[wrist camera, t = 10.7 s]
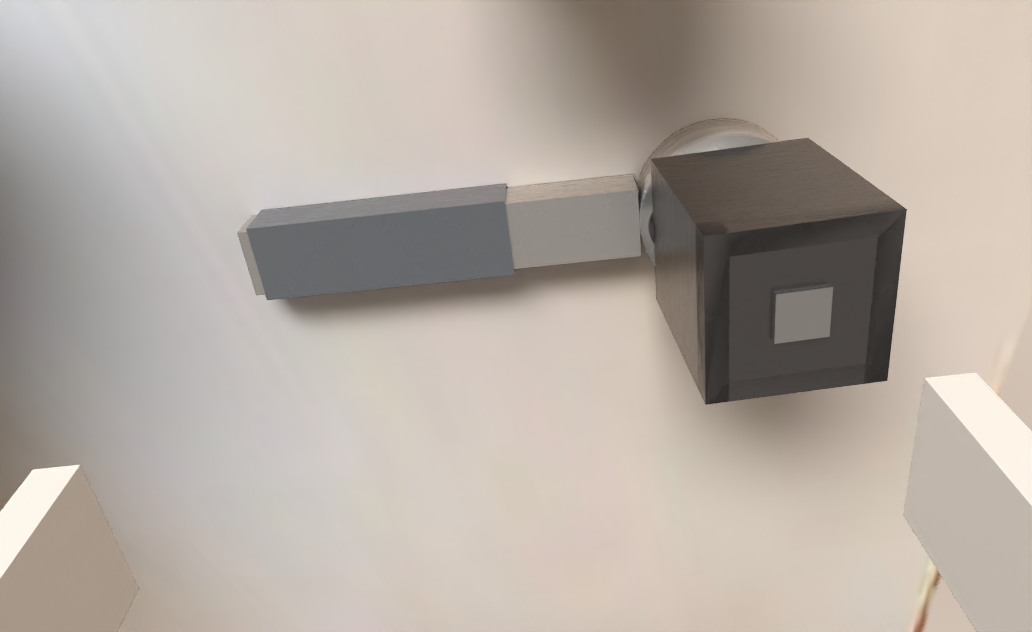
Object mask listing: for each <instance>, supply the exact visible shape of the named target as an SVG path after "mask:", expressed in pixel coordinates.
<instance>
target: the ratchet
mask: <svg viewBox="0 0 1032 632" xmlns="http://www.w3.org/2000/svg"><path fill="white" fill-rule="evenodd" d="M773 142H778V141H777V140H776V139H775V138H774V137H773V136H772V135H771V134H769V133H768V132H767V131H765V130H764V129H762V128H760V127H758V126H756V125H754V124H751V123H748V122H745V121H740V120H736V119H712V120H706V121H702V122H698V123H695V124H692V125H690V126H688V127H685V128H683V129H681V130H679V131H678V132H676V133H674V134H673V135H671V136H670V137H669V138H668V139H666V140H665V141H664V142H663V143H662V144H661V145H660V146H659V147H658V148H657V149H656V150H655V151H654V152H653V153H652V155H651V156H650V157H649V158H648V160H647V162H646V163H645V165H644V167H643V169H642V171H641V173H640V176H639V178H638V182H637V185H636V183H635V180H634V177H633V174H629V175H620V176H611V177H602V178H592V179H583V180H574V181H565V182H556V183H547V184H537V185H528V186H519V187H510V188H506V184H497V185H488V186H479V187H470V188H460V189H451V190H442V191H433V192H424V193H415V194H406V195H396V196H387V197H378V198H369V199H360V200H351V201H342V202H332V203H323V204H314V205H305V206H296V207H287V208H278V209H268V210H261V211H260V212H259V214H258V215H253V216H251V217H250V218H249V219H248V221H247V222H246V223H245V224H244V225H243V227H242V228H241V229H240V230H239V231H238V237H239V240H240V243H241V247H242V250H243V253H244V256H245V260H246V263H247V266H248V270H249V273H250V276H251V279H252V283H253V286H254V289H255V293H256V295H264V294H265V295H266V298H267V300H274V299H284V298H294V297H304V296H314V295H323V294H333V293H343V292H353V291H363V290H373V289H383V288H393V287H403V286H413V285H422V284H432V283H442V282H452V281H462V280H472V279H482V278H492V277H502V276H511V275H514V269H520V268H529V267H539V266H549V265H559V264H569V263H579V262H588V261H598V260H608V259H618V258H628V257H638V256H641V242H640V234H641V237H642V240H643V244H644V247H645V249H646V252H647V254H648V256H649V258H650V260H651V261H652V263H653V264H654V266H655V253H654V230H653V207H652V184H651V160H650V159H653V158H661V157H668V156H676V155H683V154H691V153H698V152H706V151H713V150H721V149H728V148H736V147H743V146H751V145H758V144H766V143H773Z"/></svg>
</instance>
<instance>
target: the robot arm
mask: <svg viewBox="0 0 1032 632" xmlns="http://www.w3.org/2000/svg"><path fill="white" fill-rule="evenodd" d="M903 516H904V517H905V519H906V520H907V522H908V524H909V525H910V527H911V528H912V530H913V532H914V533H915V535H916V536H917V538H918V540H919V541H920V543H921V544H922V546H923V548H924V549H925V551H926V552H927V554H928V556H929V557H930V559H931V560H932V562H933V564H934V565H935V567H936V568H937V570H938V572H939V573H940V575H941V576H942V578H943V580H944V581H945V583H946V584H947V586H948V587H949V589H950V591H951V592H952V594H953V595H954V597H955V599H956V600H957V602H958V603H959V605H960V607H961V608H962V610H963V611H964V613H965V615H966V616H967V618H968V619H969V621H970V623H971V624H972V626H973V627H974V629H975V631H976V632H1032V431H1031V430H1030V429H1028V427H1027V426H1026V425H1025V424H1024V423H1023V422H1022V421H1021V420H1020V419H1019V418H1018V417H1017V416H1016V415H1015V413H1014V412H1013V411H1012V410H1011V409H1010V408H1009V407H1008V406H1007V405H1006V404H1005V403H1004V402H1003V401H1002V400H1001V399H1000V398H999V397H998V396H997V394H996V393H995V392H994V391H993V390H992V389H991V388H990V387H989V386H988V385H987V384H986V383H985V382H984V381H983V380H982V379H981V378H980V377H979V375H978V374H977V373H968V374H958V375H948V376H938V377H929V378H924V384H923V391H922V397H921V403H920V410H919V416H918V422H917V429H916V435H915V441H914V448H913V454H912V460H911V467H910V473H909V480H908V486H907V492H906V499H905V505H904V511H903ZM138 590H139V587H138V585H137V583H136V581H135V579H134V577H133V575H132V573H131V571H130V569H129V566H128V564H127V562H126V560H125V558H124V556H123V554H122V552H121V550H120V547H119V545H118V543H117V541H116V539H115V537H114V535H113V533H112V531H111V528H110V526H109V524H108V522H107V520H106V518H105V516H104V514H103V512H102V509H101V507H100V505H99V503H98V501H97V499H96V497H95V495H94V493H93V490H92V488H91V486H90V484H89V482H88V480H87V478H86V476H85V474H84V471H83V469H82V467H81V465H72V466H62V467H53V468H43V469H33V470H32V471H31V473H30V474H29V475H28V477H27V478H26V479H25V480H24V482H23V483H22V484H21V486H20V487H19V488H18V490H17V491H16V492H15V493H14V495H13V496H12V497H11V499H10V500H9V501H8V502H7V504H6V505H5V506H4V508H3V509H2V510H1V511H0V632H118V630H119V628H120V626H121V624H122V622H123V620H124V618H125V616H126V614H127V612H128V610H129V608H130V606H131V604H132V602H133V600H134V598H135V596H136V594H137V592H138Z"/></svg>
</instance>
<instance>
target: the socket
mask: <svg viewBox="0 0 1032 632" xmlns="http://www.w3.org/2000/svg"><path fill="white" fill-rule="evenodd" d="M650 160H651V184H652V207H653V230H654V253H655V276H656V299H657V301H658V304H659V306H660V308H661V310H662V312H663V314H664V316H665V319H666V321H667V323H668V325H669V327H670V329H671V331H672V334H673V336H674V338H675V340H676V342H677V344H678V346H679V349H680V351H681V353H682V355H683V357H684V359H685V361H686V364H687V366H688V368H689V370H690V372H691V374H692V376H693V379H694V381H695V383H696V385H697V387H698V389H699V391H700V394H701V396H702V398H703V400H704V402H705V404H713V403H721V402H728V401H736V400H743V399H751V398H759V397H766V396H774V395H781V394H789V393H797V392H804V391H812V390H819V389H827V388H835V387H842V386H850V385H857V384H865V383H873V382H880V381H887V377H888V368H889V360H890V351H891V342H892V333H893V324H894V316H895V307H896V298H897V289H898V280H899V271H900V263H901V254H902V245H903V236H904V227H905V218H906V210H907V209H906V208H904V207H903V206H901V205H900V204H899V203H897V202H896V201H894V200H893V199H892V198H890V197H889V196H888V195H886V194H885V193H883V192H882V191H881V190H879V189H878V188H877V187H875V186H874V185H872V184H871V183H870V182H868V181H867V180H865V179H864V178H863V177H861V176H860V175H859V174H857V173H856V172H854V171H853V170H852V169H850V168H849V167H848V166H846V165H845V164H843V163H842V162H841V161H839V160H838V159H837V158H835V157H834V156H832V155H831V154H830V153H828V152H827V151H825V150H824V149H823V148H821V147H820V146H819V145H817V144H816V143H814V142H813V141H812V140H810V139H809V138H803V139H796V140H788V141H781V142H773V143H766V144H758V145H751V146H743V147H736V148H728V149H721V150H713V151H706V152H698V153H691V154H683V155H676V156H668V157H661V158H653V159H650Z"/></svg>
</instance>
